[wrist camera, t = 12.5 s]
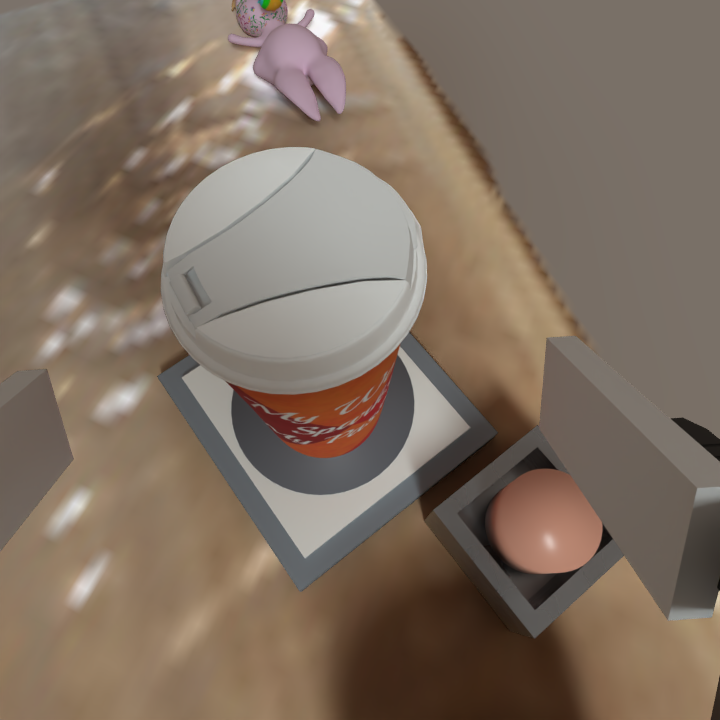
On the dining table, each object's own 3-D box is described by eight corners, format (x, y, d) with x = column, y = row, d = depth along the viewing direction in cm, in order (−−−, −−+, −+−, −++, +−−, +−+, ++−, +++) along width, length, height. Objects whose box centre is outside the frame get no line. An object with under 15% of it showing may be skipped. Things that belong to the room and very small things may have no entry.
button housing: (424, 520, 27) (433, 510, 23) (515, 446, 28) (537, 425, 24) (509, 630, 25) (534, 638, 21) (603, 545, 26) (641, 538, 22)
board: (162, 381, 30) (154, 373, 29) (342, 263, 32) (341, 252, 31) (301, 591, 26) (298, 591, 25) (494, 436, 28) (499, 430, 27)
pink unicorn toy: (218, 39, 41) (286, 157, 34) (191, -52, 36) (264, 63, 29) (296, 15, 42) (378, 124, 35) (280, -78, 37) (373, 27, 30)
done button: (466, 517, 24) (479, 509, 21) (530, 464, 25) (551, 449, 22) (528, 594, 23) (550, 595, 20) (593, 535, 24) (624, 528, 21)
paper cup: (291, 511, 26) (214, 433, 13) (223, 377, 28) (103, 200, 15) (434, 430, 27) (493, 286, 14) (357, 309, 30) (348, 94, 17)
